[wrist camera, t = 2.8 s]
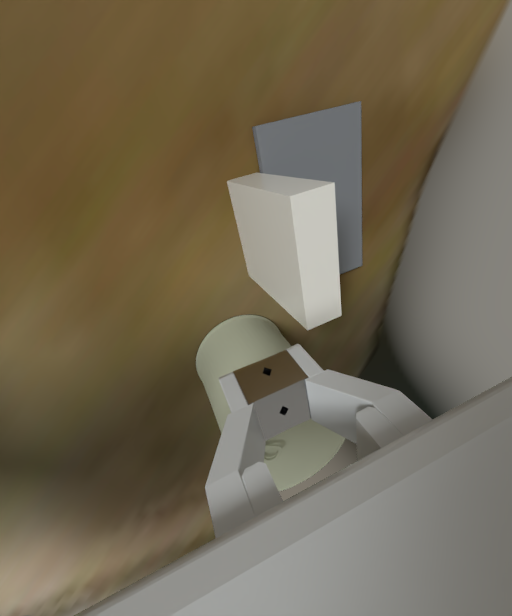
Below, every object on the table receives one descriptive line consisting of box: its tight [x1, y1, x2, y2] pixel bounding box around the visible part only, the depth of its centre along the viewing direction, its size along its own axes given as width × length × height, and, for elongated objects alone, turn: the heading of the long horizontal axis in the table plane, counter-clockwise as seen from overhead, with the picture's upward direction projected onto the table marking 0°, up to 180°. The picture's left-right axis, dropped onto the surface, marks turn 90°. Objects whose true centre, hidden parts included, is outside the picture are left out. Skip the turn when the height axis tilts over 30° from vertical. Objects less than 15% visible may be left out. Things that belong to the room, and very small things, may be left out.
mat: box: [252, 101, 362, 275], centre depth 25 cm, size 9×14×1 cm, turn 13°
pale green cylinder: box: [196, 315, 346, 491], centre depth 25 cm, size 9×9×12 cm
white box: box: [227, 173, 342, 331], centre depth 20 cm, size 3×8×10 cm, turn 13°
